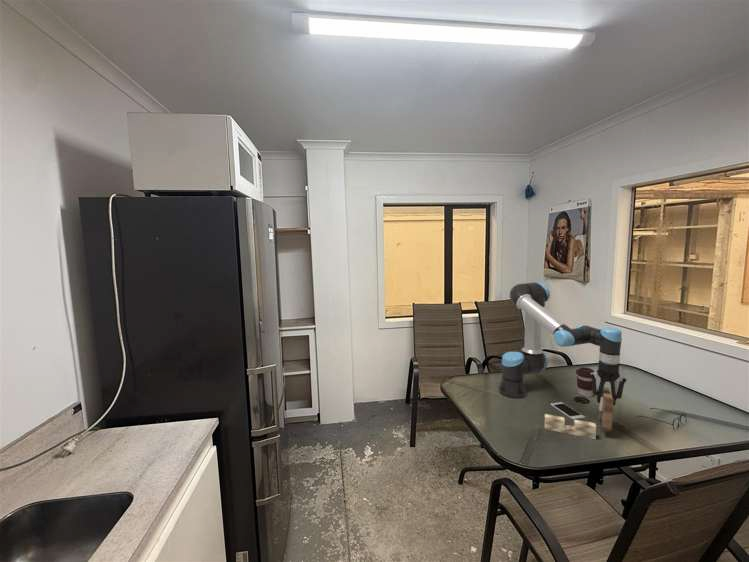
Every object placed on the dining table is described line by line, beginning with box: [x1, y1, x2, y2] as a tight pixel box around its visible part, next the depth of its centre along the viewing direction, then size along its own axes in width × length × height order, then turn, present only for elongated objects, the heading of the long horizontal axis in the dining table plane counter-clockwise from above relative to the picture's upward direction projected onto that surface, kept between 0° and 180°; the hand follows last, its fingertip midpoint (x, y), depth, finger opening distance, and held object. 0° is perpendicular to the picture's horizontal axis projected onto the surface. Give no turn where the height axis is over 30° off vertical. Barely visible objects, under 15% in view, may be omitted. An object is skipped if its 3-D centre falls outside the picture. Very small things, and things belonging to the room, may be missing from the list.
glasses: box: [636, 407, 687, 431], centre depth 153 cm, size 14×15×5 cm
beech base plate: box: [544, 413, 597, 440], centre depth 145 cm, size 20×3×6 cm, turn 63°
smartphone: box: [550, 401, 586, 421], centre depth 163 cm, size 7×15×1 cm, turn 10°
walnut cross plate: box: [597, 386, 614, 432], centre depth 144 cm, size 12×3×15 cm, turn 153°
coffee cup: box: [575, 366, 596, 398], centre depth 179 cm, size 10×10×15 cm
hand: (605, 410), depth 144 cm, fingers closed on walnut cross plate, 3 cm apart
